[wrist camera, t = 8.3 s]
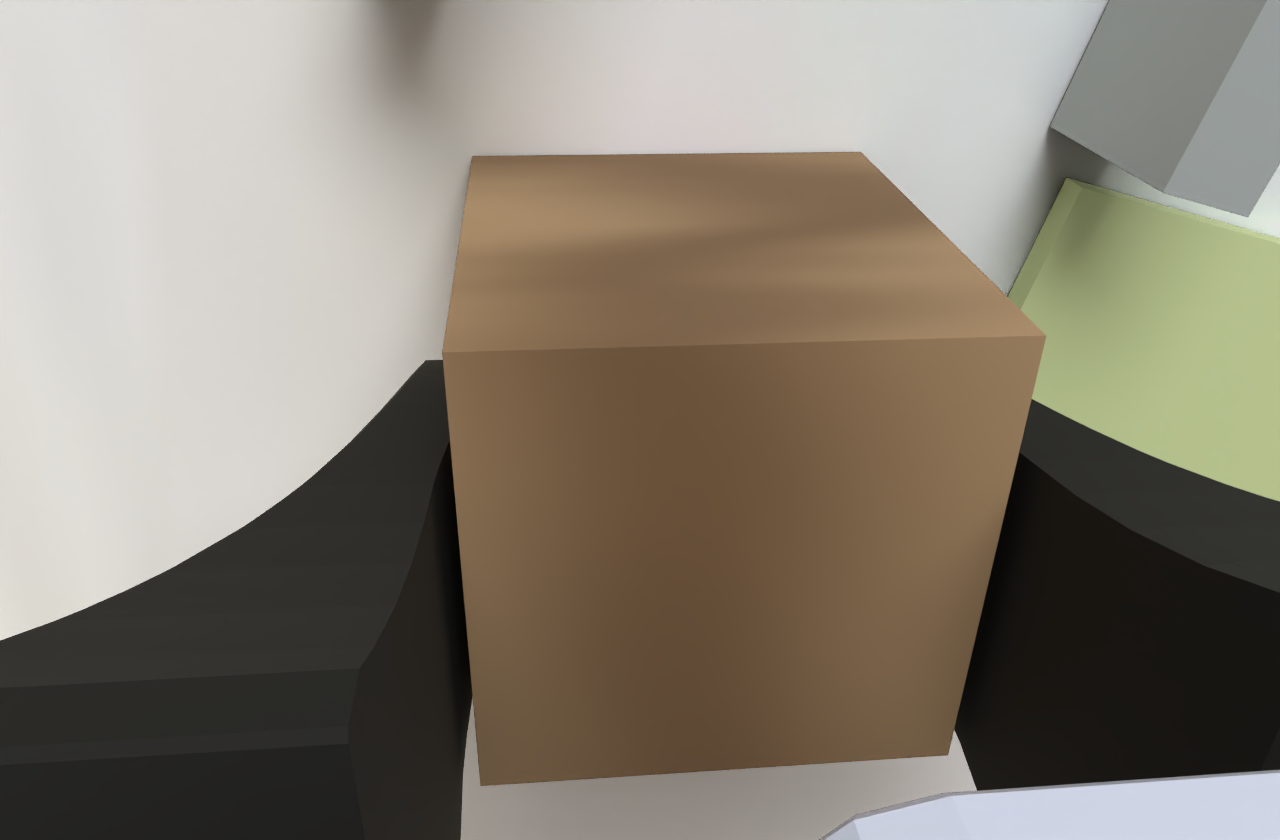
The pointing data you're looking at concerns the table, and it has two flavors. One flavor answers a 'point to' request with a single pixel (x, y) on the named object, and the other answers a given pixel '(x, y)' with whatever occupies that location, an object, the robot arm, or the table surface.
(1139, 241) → the coaster
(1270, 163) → the goalpost shaped bracket
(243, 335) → the table surface
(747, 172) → the block
